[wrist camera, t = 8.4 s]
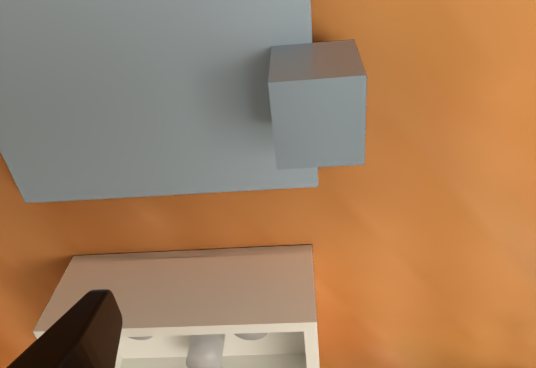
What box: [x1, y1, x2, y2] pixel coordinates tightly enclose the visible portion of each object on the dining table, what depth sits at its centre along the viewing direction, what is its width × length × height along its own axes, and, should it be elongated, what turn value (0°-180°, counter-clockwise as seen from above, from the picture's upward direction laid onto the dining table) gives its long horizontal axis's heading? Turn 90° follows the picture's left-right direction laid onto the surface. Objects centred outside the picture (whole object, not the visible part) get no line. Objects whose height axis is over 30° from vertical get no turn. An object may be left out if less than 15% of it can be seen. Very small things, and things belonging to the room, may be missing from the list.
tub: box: [33, 245, 319, 368], centre depth 26 cm, size 13×9×5 cm
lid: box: [0, 0, 367, 203], centre depth 18 cm, size 15×10×5 cm
